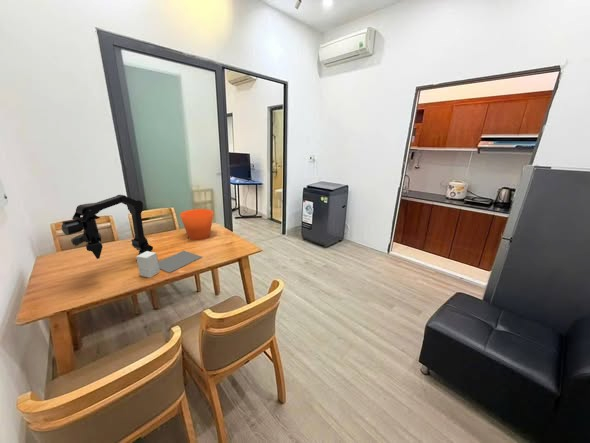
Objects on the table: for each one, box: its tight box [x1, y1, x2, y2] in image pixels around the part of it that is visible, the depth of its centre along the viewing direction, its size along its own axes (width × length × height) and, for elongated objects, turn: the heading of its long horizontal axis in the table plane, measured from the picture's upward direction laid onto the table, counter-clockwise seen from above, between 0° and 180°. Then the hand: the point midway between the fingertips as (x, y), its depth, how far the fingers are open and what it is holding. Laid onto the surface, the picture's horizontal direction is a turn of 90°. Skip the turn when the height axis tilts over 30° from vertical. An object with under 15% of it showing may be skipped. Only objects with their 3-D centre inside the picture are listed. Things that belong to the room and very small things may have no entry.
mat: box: [158, 250, 203, 274], centre depth 154 cm, size 24×18×1 cm
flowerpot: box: [179, 208, 215, 241], centre depth 192 cm, size 25×25×20 cm
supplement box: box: [136, 251, 161, 279], centre depth 137 cm, size 7×7×13 cm
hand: (97, 255), depth 130 cm, fingers open, 9 cm apart
